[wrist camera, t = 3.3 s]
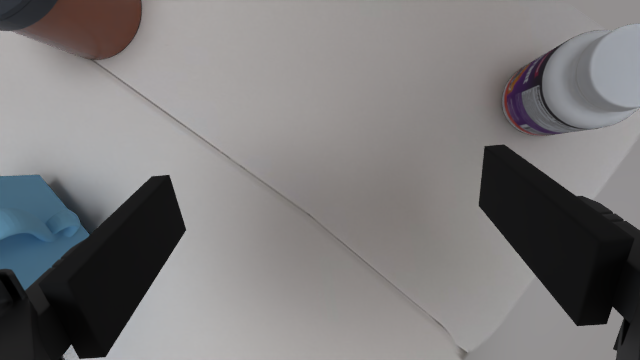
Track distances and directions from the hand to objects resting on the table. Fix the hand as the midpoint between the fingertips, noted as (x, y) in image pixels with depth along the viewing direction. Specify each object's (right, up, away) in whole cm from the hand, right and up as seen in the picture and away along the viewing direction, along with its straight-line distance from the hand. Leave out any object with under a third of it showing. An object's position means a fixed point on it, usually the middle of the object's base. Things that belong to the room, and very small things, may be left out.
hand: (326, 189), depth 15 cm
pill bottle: (+16, +6, +12) cm, 21 cm away
